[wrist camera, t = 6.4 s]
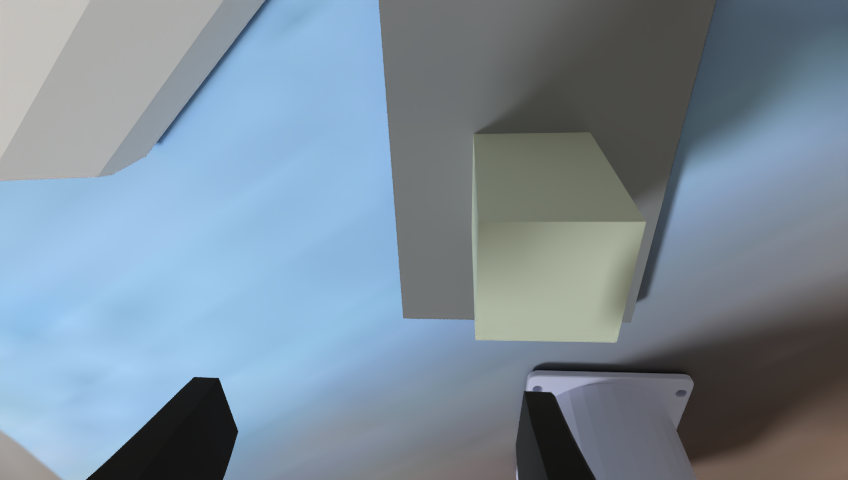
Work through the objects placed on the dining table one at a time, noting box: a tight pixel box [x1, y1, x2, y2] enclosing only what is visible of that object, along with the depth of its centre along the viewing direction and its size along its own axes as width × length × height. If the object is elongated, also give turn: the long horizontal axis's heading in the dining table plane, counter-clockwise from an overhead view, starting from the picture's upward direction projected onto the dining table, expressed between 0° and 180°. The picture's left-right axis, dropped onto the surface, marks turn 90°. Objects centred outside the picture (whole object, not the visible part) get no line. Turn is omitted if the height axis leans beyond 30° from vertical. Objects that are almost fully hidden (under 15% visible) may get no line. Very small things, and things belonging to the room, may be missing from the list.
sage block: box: [472, 132, 646, 342], centre depth 15 cm, size 4×4×6 cm
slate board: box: [379, 0, 716, 322], centre depth 18 cm, size 14×10×1 cm
